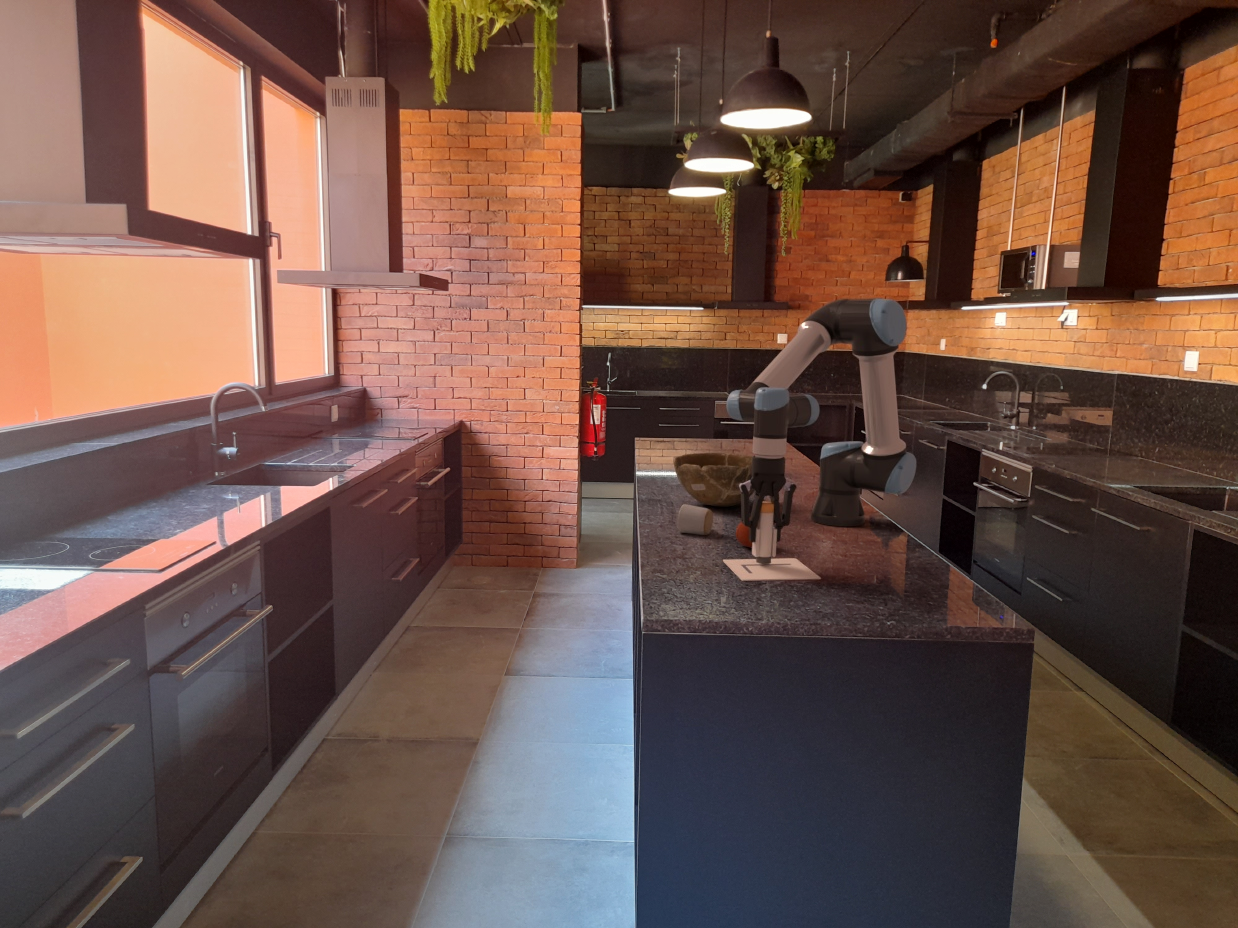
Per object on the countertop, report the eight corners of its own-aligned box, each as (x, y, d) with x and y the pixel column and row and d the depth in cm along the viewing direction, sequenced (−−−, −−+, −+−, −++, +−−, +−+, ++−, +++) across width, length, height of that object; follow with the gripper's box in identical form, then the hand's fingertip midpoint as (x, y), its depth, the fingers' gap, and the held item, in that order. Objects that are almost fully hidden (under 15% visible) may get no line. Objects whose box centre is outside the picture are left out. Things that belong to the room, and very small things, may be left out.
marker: (768, 559, 198) (771, 501, 196) (773, 563, 195) (776, 504, 193) (753, 559, 198) (756, 501, 195) (758, 564, 194) (761, 504, 192)
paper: (795, 559, 203) (795, 557, 203) (820, 579, 187) (820, 577, 187) (722, 560, 200) (722, 559, 200) (742, 580, 185) (742, 579, 185)
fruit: (748, 540, 220) (750, 510, 219) (777, 547, 214) (778, 516, 212) (727, 546, 214) (729, 515, 212) (756, 553, 207) (757, 522, 206)
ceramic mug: (706, 538, 221) (707, 509, 220) (676, 534, 224) (677, 506, 223) (716, 530, 231) (718, 502, 230) (688, 527, 234) (689, 500, 233)
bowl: (699, 518, 244) (701, 467, 242) (658, 500, 269) (659, 453, 266) (779, 511, 255) (782, 463, 253) (733, 495, 280) (735, 450, 277)
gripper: (797, 453, 197) (791, 550, 201) (729, 453, 195) (725, 551, 199) (809, 458, 190) (803, 559, 194) (738, 458, 187) (734, 560, 191)
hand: (763, 555), depth 196 cm, fingers closed on marker, 3 cm apart
